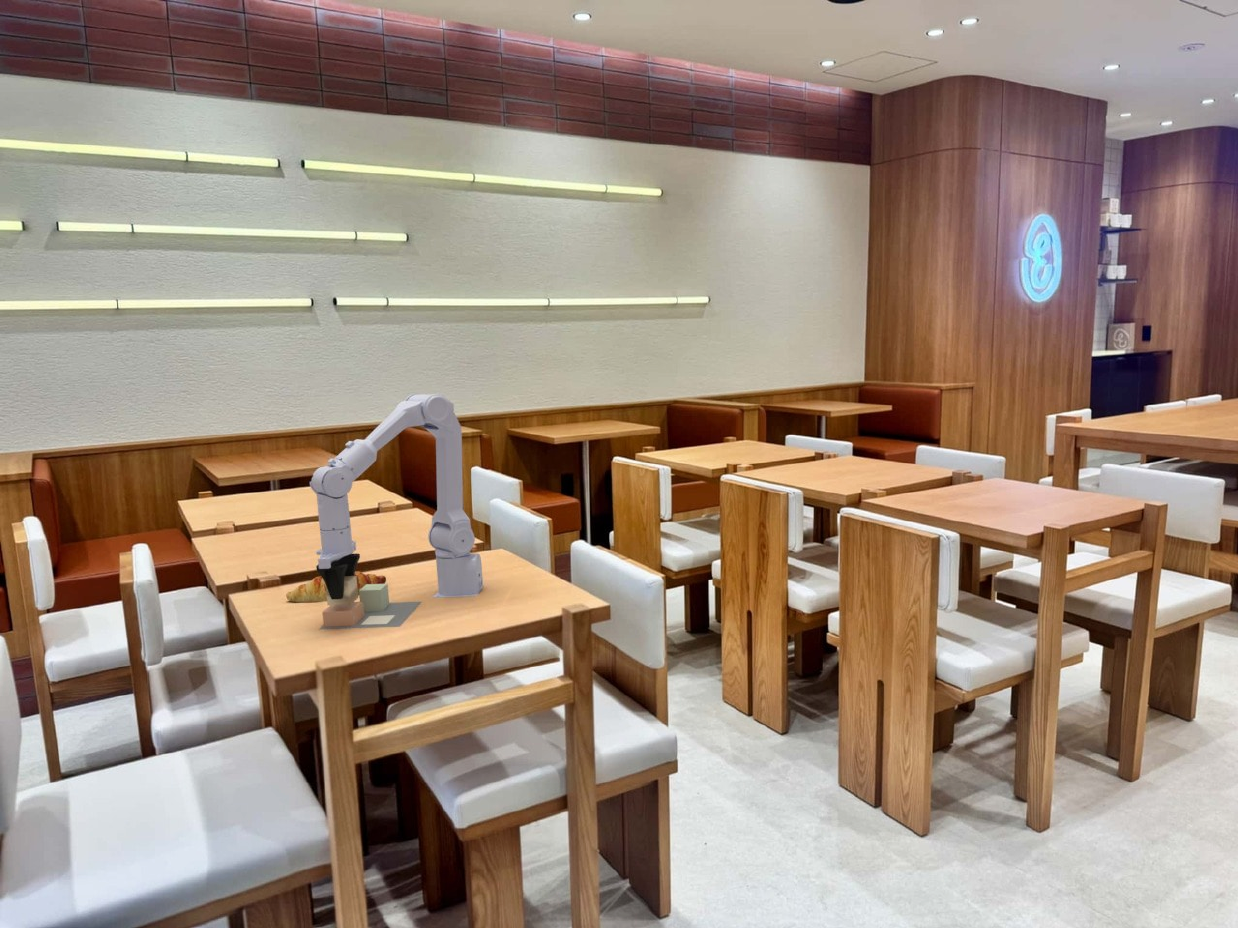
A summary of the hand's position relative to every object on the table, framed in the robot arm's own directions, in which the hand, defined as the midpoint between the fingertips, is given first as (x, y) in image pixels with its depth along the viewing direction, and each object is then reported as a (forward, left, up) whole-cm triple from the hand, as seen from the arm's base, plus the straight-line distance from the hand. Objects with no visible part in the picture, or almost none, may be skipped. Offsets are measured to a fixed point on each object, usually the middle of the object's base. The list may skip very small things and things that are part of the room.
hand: (341, 594), depth 165 cm
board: (-5, -4, -6) cm, 8 cm away
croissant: (+9, -20, -6) cm, 22 cm away
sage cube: (-4, -8, -5) cm, 10 cm away
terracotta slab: (0, 0, -5) cm, 5 cm away
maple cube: (0, 0, -1) cm, 1 cm away
